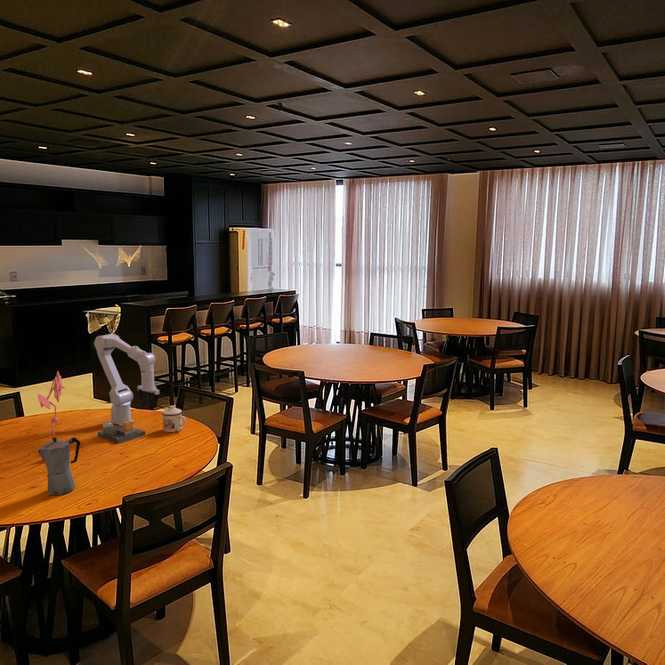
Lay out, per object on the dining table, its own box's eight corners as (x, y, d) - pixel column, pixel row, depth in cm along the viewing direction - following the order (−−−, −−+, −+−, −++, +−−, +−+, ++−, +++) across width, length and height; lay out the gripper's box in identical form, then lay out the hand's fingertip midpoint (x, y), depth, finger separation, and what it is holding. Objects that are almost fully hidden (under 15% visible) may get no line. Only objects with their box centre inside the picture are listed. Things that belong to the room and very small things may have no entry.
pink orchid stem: (37, 466, 231) (32, 380, 225) (49, 445, 255) (45, 366, 250) (79, 463, 235) (75, 378, 230) (87, 442, 259) (84, 365, 254)
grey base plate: (97, 436, 267) (97, 423, 266) (124, 428, 278) (124, 416, 277) (118, 443, 257) (117, 430, 256) (145, 435, 268) (144, 422, 267)
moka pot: (33, 494, 206) (29, 439, 203) (74, 479, 219) (70, 428, 216) (49, 501, 201) (45, 445, 198) (89, 485, 213) (86, 433, 210)
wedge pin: (122, 436, 266) (122, 421, 265) (128, 434, 269) (128, 420, 268) (126, 438, 265) (126, 423, 263) (133, 436, 267) (132, 421, 266)
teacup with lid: (158, 431, 274) (157, 407, 272) (170, 425, 282) (169, 402, 280) (180, 434, 269) (179, 410, 267) (191, 428, 278) (190, 405, 276)
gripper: (164, 379, 276) (165, 407, 278) (145, 375, 285) (147, 402, 287) (151, 382, 270) (153, 410, 272) (133, 377, 279) (134, 405, 281)
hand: (149, 406), depth 279 cm, fingers open, 7 cm apart
